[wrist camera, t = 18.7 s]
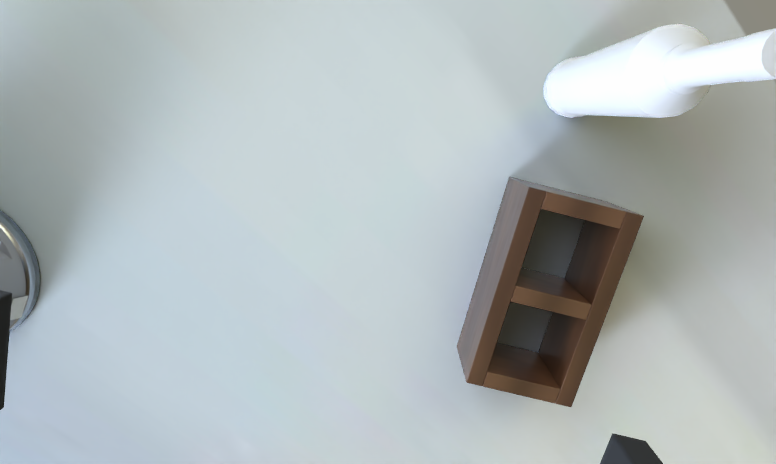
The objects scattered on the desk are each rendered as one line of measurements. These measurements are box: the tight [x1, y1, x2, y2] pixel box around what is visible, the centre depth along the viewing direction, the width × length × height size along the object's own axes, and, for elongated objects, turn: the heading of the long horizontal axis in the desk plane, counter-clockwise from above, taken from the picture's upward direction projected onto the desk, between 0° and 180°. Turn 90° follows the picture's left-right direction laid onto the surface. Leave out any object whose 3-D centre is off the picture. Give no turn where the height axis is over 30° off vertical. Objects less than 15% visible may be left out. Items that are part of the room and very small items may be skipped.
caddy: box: [457, 177, 644, 407], centre depth 45 cm, size 10×18×7 cm, turn 166°
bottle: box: [544, 24, 776, 118], centre depth 32 cm, size 5×5×25 cm
